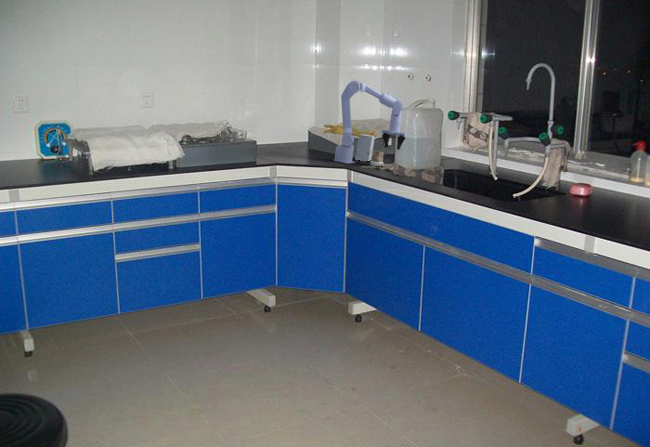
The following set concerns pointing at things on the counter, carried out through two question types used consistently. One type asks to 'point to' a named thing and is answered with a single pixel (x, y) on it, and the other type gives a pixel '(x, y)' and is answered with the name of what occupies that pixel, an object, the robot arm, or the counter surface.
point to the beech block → (377, 156)
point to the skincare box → (364, 147)
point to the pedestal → (376, 163)
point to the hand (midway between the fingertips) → (392, 148)
